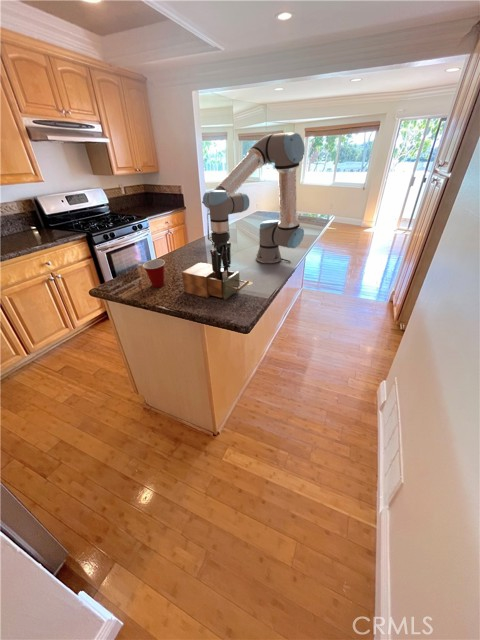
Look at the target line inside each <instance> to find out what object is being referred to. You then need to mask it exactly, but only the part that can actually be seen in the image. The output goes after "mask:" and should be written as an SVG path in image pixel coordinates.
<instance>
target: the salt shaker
mask: <svg viewBox="0 0 480 640" xmlns="http://www.w3.org/2000/svg"><path fill="white" fill-rule="evenodd" d="M221 271H222V278H223V281H224V280H226V279H227V269H226V268H221Z"/></svg>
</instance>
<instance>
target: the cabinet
mask: <svg viewBox="0 0 480 640" xmlns="http://www.w3.org/2000/svg"><path fill="white" fill-rule="evenodd" d="M222 267H223V265H221V268H222ZM213 273H215V272H214V271H213V269H212V263H211V264H210V263H205V262H197V263H196V264H194V265H192V266H190V267H189V268H187V269H185V270H183V271H181V277H182V284H183V290H184V293H186V294H190V295H193V296H199V297H203V298H206V299H208V298H209V297H210V296H211V295H208V290H207V280H206V278H207V277H208V276H210V275H212V274H213Z"/></svg>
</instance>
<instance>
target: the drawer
mask: <svg viewBox="0 0 480 640" xmlns="http://www.w3.org/2000/svg"><path fill="white" fill-rule="evenodd" d="M206 280H207V290H208V295H210V296H213V297H216V298H223V300H228V299H229V298H230V297H231V296H232V295H233V294H235V293H236V292H239V291H241V290H242V289H243V288H245V287H247V285H248V284H249V283H250V281H249V280H242V279H240V271H232V270H228V278H227V279H226V280H224V281H223V285H222V280H218V279H217V278H216V272H215V273H213V274H212V275H210V276H208V277H207V278H206ZM240 283H242V284H241V285H240Z"/></svg>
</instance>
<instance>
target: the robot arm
mask: <svg viewBox="0 0 480 640" xmlns="http://www.w3.org/2000/svg"><path fill="white" fill-rule="evenodd" d="M304 141H305V140H304V138H303V137H302V136H301V134H300V133H298V132H291V131H288V132H281V133H270V134H267V135H265V136H263V137H262V138H260V139H259V140H257V142H255V143H254V144H253V145H252V146H251V147H250V148H249V149H248V150H247V152H246V155H245V156H244V158H242V160H241V161H240V162H239V163H238V164H237V165H236V166H235V167H234V168H233V169H232V170H231V171H230V173H228V174H227V176H225V177H224V178H223V180H222V181H221V182H220V183H219V184H218V185H217V186H216V187H215V188H214V189H213V190H207V191H206V192H205V193H204V194H203V196H202V201H203V203H204V204H203V203H202V204H203V205H204V207H205V208H206V209H208V210H209V213H210V215H209V220H210V231H211V232H210V236H211V238H210V239H211V241H212V242H214V243H213V249H210V250H209V252H210V256H211V265H212V269H213V271H214V272H216V278H217V279H218V280H222V285H223V278H222V271H221V266H222V268H226V269H227V278H228V271H229V268H231V264H232V257H231V255H232V253H231V248H232V247H231V246H232V243H231V242H229V241H230V238H229V234H230V222H229V221H230V220H229V216H230V215H234V214H239V213H244V212H245V211H248V209H249V207H250V198H249V196H248V195H247V193H245V192H237V191H238V190H240V188H241V187H242V186H243V185H244V184H245V182H246V181H248V179H249V178H250V177H252V175H253V174H254V173H255V172H256V171H257V170H258V169H262V167H263V166H264V165H267V164H270V163H271V164H274V169H275V171H276V172H277V176H278V177H277V178H278V198H279V199H278V200H279V215H280V216H279V218H280V219H271V220H264V221H261V223H259V247H258V251H257V253H256V254H255V258H256V259H255V260H256V261H257V262H259V263H260V264H270V265H271V264H276V263H279V262H281V261H284V262H288V263H291V260H288V259H286V258H285V259H284V258H282V255H281V251H280V247H283V248H287V249H296V248H298V247H299V246H300V245H301V244H302V242H303V240H304V235H305V229H304V228H303V227H302V226H300V220H299V219H297V216H298V215H297V169H298V168H299V167H300V163H301V162H302V161H303V159H304V155H305V152H306V151H305V150H306V147H305V142H304ZM228 230H229V232H228Z"/></svg>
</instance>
